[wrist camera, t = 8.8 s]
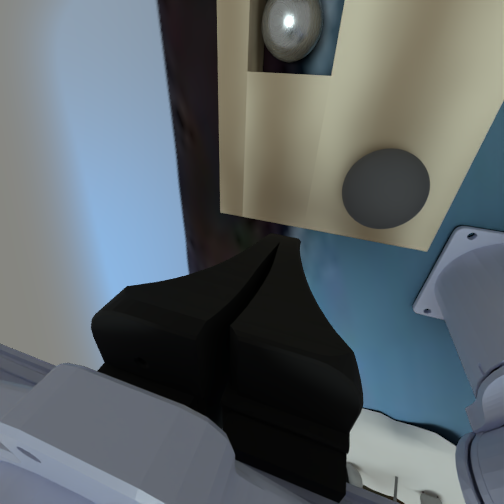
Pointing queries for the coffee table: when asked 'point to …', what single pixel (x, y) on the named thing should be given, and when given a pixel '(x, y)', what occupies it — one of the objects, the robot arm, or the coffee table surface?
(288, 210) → the cream knobbed board
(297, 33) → the steel ball
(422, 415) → the coffee table surface
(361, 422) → the figurine
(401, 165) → the black rubber ball
